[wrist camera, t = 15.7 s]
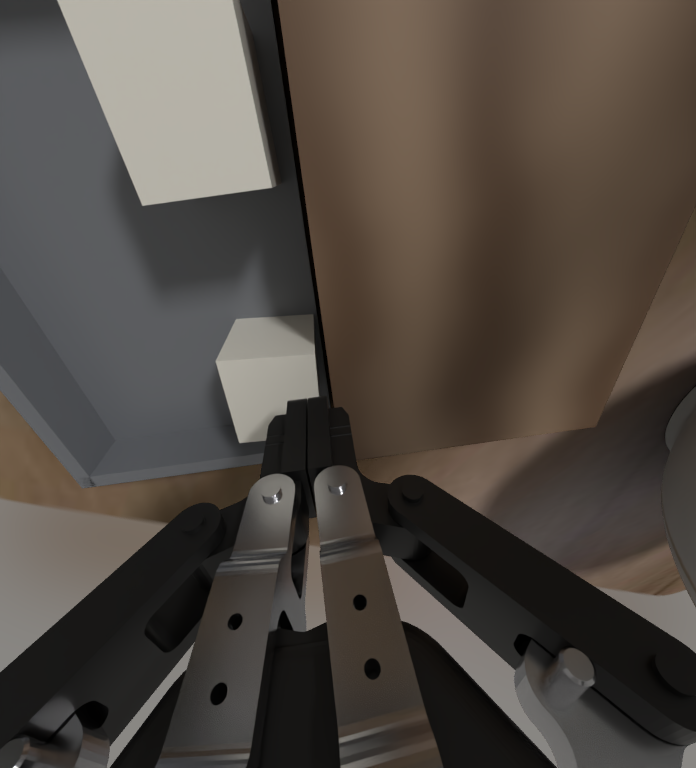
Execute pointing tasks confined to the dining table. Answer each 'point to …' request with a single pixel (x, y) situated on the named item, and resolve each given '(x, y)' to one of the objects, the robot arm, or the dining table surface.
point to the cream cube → (178, 94)
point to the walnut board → (488, 203)
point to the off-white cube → (267, 370)
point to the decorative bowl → (681, 491)
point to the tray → (129, 270)
